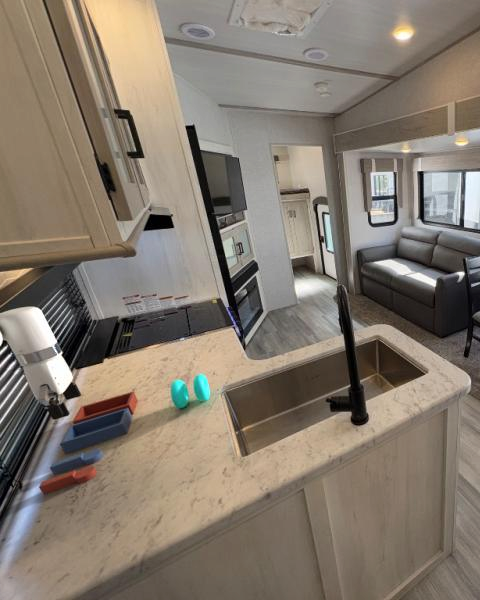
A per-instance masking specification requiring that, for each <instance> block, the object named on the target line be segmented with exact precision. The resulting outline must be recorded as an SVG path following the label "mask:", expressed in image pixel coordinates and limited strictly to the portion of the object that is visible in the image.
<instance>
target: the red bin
mask: <svg viewBox="0 0 480 600" xmlns="http://www.w3.org/2000/svg"><path fill="white" fill-rule="evenodd" d="M138 400H139V399H138V398H137V396H136V393H135V391H133V390H132V391H129V392H127V393H124V394H120V395H116V396H113V397H110V398H106V399H102V400H99V401H95V402H92V403H89V404H86V405H81V406H80V408H79V410H78V411H77V413H76V414H75V416H74V418H73V420H72V425H74V424H77V423H81V422H84V421H87V420H90V419H94V418H97V417H100V416H103V415H106V414H110V413H113V412H116V411H119V410H123V409H126V408H128V409H129V411H130V413H131V415H134V413H135V410H136V406H137V404H138Z"/></svg>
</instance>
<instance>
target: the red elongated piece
mask: <svg viewBox="0 0 480 600" xmlns="http://www.w3.org/2000/svg"><path fill="white" fill-rule="evenodd" d="M96 474H97V470H96V467H95V466H94V465H86V466H84V467H83V468H81V469H79V470H77V471H76V470H72V471H69V472H66V473H63V474H60V475H57V476H55V477H52V478H49V479H46V480H44V481H41V482H40V484H39V486H38V488H39V490H40V491H41V493H42V495H44V496H45V495H47V494H50V493H53V492H55V491H58V490H60V489H63V488H65V487H68V486H71V485H74V484H76V483H77V484H84V483H86V482H89V481H90V480H91V479H93V478H94V477H95V476H96Z"/></svg>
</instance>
